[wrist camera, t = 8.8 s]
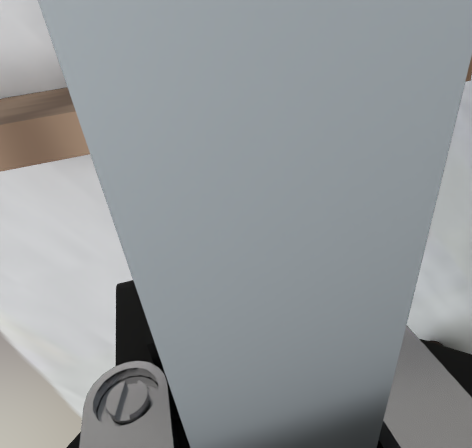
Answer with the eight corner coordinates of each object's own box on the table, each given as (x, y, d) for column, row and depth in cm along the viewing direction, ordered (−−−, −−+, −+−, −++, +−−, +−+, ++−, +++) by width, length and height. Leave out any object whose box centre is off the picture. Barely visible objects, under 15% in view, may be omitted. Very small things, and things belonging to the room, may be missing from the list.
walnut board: (407, 30, 25) (478, 39, 20) (404, 63, 26) (470, 80, 21) (-27, 103, 22) (-72, 137, 17) (-11, 138, 23) (-49, 180, 18)
